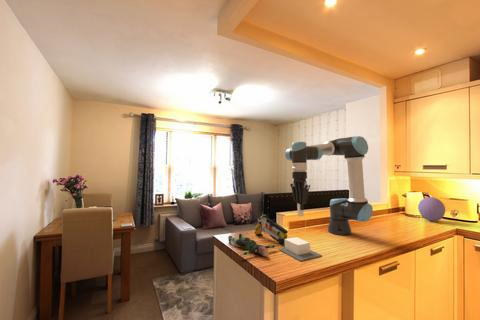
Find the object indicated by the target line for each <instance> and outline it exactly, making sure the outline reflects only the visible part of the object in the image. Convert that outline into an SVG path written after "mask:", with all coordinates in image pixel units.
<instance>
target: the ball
mask: <svg viewBox="0 0 480 320" xmlns="http://www.w3.org/2000/svg"><path fill="white" fill-rule="evenodd" d="M417 205H418V206H417V209H418V212H419V214H420V216H421V217H422V218H423V219H425V220H427V221H430V222H436V221H440V220H441V219H442V218H444V216H445V213H446V206H445V203H443V202H442V201H441V200H440V199H438V198H436V197H434V196H426V197H424V198H423V199H421V200H420V201H419V203H418V204H417Z"/></svg>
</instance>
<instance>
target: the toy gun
mask: <svg viewBox="0 0 480 320" xmlns="http://www.w3.org/2000/svg"><path fill="white" fill-rule="evenodd" d="M256 220H257V224H256V226H255V227H254V230H255V231H254V234H255V235H257V237H264V235H263V234H266V235H268V236H270V237H271V238H272V239H273V240H275V241H276V242H277V243H278V244H280V245H281V246H284V239H288V230H287V229H286V228H284V227H283V226H282V225H280V224H279V223H277V222H275V221H273V220H272V219H271V218H269V216H268V215H266V214H263V215H260V216H259V217H257V219H256Z"/></svg>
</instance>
